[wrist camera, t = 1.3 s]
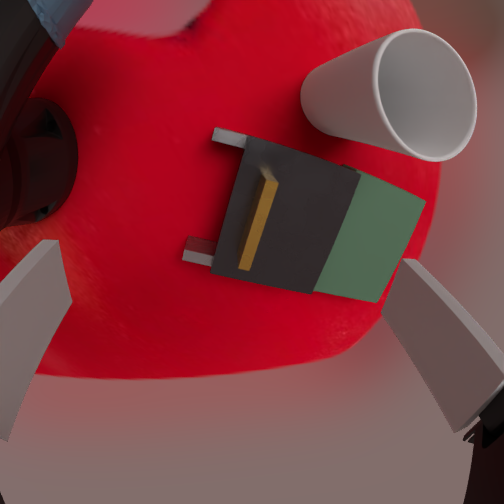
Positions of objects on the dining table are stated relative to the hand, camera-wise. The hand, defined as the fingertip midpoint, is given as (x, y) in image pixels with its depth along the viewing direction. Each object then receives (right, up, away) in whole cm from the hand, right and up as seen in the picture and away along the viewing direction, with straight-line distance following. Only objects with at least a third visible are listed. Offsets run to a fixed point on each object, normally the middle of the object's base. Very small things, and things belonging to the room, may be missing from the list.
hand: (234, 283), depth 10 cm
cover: (+4, +4, +17) cm, 18 cm away
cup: (+10, +17, +16) cm, 25 cm away
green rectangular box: (+13, +3, +23) cm, 27 cm away
